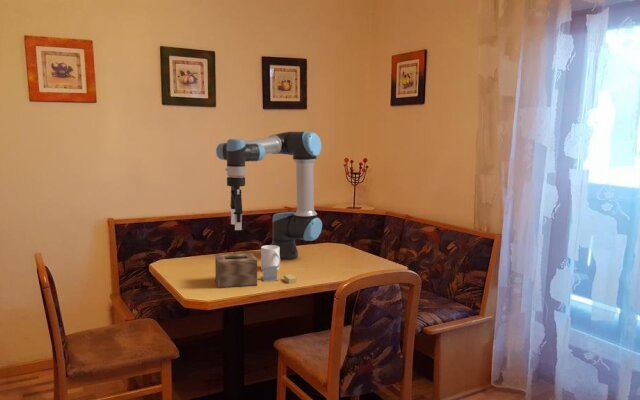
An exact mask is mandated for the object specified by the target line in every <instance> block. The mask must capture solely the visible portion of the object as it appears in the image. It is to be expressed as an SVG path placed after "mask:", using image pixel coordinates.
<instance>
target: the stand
mask: <svg viewBox="0 0 640 400" xmlns="http://www.w3.org/2000/svg"><path fill="white" fill-rule="evenodd" d="M260 278H261V279H262V281H263V282H273V281H275V282H276V281H277V282H278V281H279V278H278V270H277V266H263V270H262V276H261V277H260Z"/></svg>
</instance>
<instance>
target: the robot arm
mask: <svg viewBox="0 0 640 400" xmlns="http://www.w3.org/2000/svg"><path fill="white" fill-rule="evenodd" d="M215 151H216V152H215V153H216V157H217V158H218V159H219V160H223V161H226V168H225V170H224V171H225V172H226V176H227V177H226V186H228V187H230V225H234V231H242V230H243V226H242V225H243V222H242V220H243V213H244V212H243V203H242V200H243V199H242V189H241V188H240V187H245V186H246V177H245V176H246V162H259V161H262V160H263V159H264V158H265V156H266V154H271V155H288V156H292V159H293V161H294V162H295V164H296V165H295V166H296V167H295V169H296V170H295V171H296V211H287V212H285V211H284V212H278V213H274V214H273V215H272V223H271V224H272V226H271V227H272V243H271V245H275V246H279V247H280V252H279V256H280V260H281V261H282V260H284V261H285V260H293V259H294V260H295V259H296V258H298V257H299V251H298V248H297V244H296V240H302V241H305V242H306V241H311V242H312V241H316V240H317V239H318V238H319V236H320V235H321V233H322V228H323V222H322V220H321V219H320V217H318V213H317V212H316V211H315V187H314V186H315V183H314V180H315V179H314V178H315V176H314V175H315V174H314V173H315V172H314V171H315V170H314V167H315V166H314V163H315V162H316V160H317V159H318V158H317V156H319V155H320V154H321V151H322V141H321V139H320V137H319V135H318V133H315V132H313V131H285V132H281V133H280V132H278V133H276V134H271V135H269V136H268V137H264V138H257V139H248V140H245V139H243V138H241V139H240V138H238V139H237V138H236V139H235V138H229V139H227V141H226V142H222V143H219V144H217V146H216V150H215Z"/></svg>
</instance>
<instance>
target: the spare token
mask: <svg viewBox="0 0 640 400" xmlns="http://www.w3.org/2000/svg"><path fill="white" fill-rule="evenodd" d="M283 281H285V282H286V283H288V284H289V285H291V284H297V281H298V280H297V277H296V276H295V275H293V274H292V273H289V274H283Z"/></svg>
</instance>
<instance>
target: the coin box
mask: <svg viewBox="0 0 640 400" xmlns="http://www.w3.org/2000/svg"><path fill="white" fill-rule="evenodd" d="M214 255H215V258H214V260H215V265H214V266H215V268H214V269H215V282H216V286H217V288H218V289H227V288H230V289H231V288H243V287H244V288H245V287H256V286H257V287H258V258H257V257H256V256H255V255H254V253H253V252H250V253H226V254H214Z"/></svg>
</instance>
